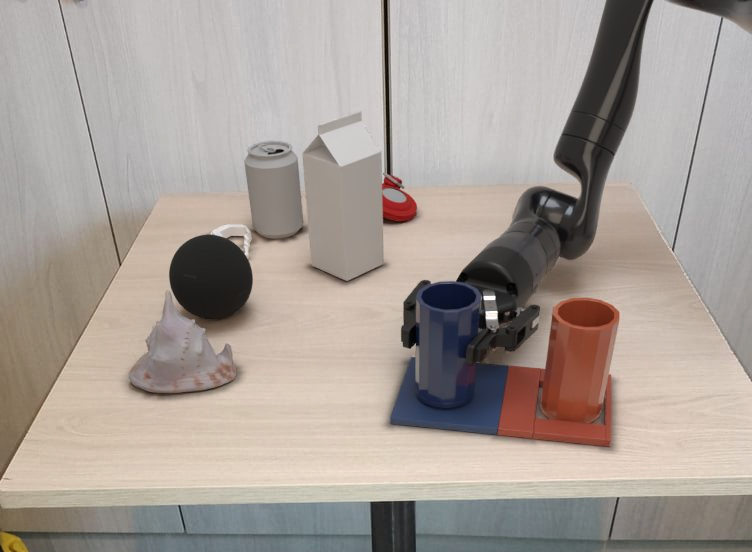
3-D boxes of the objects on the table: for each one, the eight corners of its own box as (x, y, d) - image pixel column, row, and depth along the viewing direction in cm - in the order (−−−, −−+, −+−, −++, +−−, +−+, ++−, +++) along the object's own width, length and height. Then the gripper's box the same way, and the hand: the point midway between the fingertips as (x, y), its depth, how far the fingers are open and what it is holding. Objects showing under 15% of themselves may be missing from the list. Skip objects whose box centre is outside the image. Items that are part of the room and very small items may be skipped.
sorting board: (609, 380, 88) (611, 374, 88) (609, 446, 79) (611, 440, 79) (411, 362, 92) (411, 356, 92) (390, 424, 83) (390, 417, 83)
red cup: (601, 394, 86) (619, 299, 79) (600, 429, 82) (619, 332, 74) (542, 388, 87) (554, 294, 80) (538, 422, 83) (551, 326, 75)
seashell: (146, 347, 96) (128, 274, 90) (245, 347, 96) (234, 273, 89) (122, 395, 89) (100, 318, 83) (229, 396, 88) (216, 319, 82)
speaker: (181, 340, 97) (165, 262, 91) (174, 303, 105) (158, 227, 98) (263, 327, 99) (253, 249, 92) (250, 291, 106) (240, 216, 100)
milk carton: (384, 264, 111) (381, 116, 98) (346, 282, 107) (338, 131, 95) (348, 250, 115) (341, 105, 102) (311, 266, 111) (298, 119, 98)
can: (284, 244, 117) (275, 159, 109) (243, 234, 120) (231, 150, 112) (313, 225, 121) (307, 142, 113) (273, 216, 124) (264, 134, 116)
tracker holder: (429, 211, 121) (368, 206, 117) (419, 237, 124) (359, 233, 120) (404, 166, 127) (345, 160, 124) (395, 192, 131) (338, 186, 127)
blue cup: (478, 377, 87) (484, 283, 80) (470, 411, 83) (476, 314, 75) (421, 372, 88) (422, 278, 81) (411, 405, 84) (411, 309, 76)
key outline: (268, 263, 112) (266, 251, 111) (233, 270, 111) (231, 258, 110) (241, 228, 121) (240, 217, 120) (209, 235, 120) (207, 223, 119)
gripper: (445, 233, 90) (372, 298, 80) (569, 258, 85) (508, 331, 74) (443, 295, 95) (374, 363, 85) (560, 322, 90) (502, 399, 79)
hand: (437, 348), depth 80 cm, fingers closed on blue cup, 6 cm apart
